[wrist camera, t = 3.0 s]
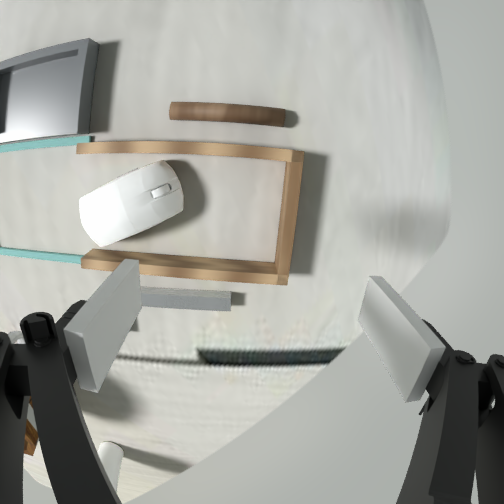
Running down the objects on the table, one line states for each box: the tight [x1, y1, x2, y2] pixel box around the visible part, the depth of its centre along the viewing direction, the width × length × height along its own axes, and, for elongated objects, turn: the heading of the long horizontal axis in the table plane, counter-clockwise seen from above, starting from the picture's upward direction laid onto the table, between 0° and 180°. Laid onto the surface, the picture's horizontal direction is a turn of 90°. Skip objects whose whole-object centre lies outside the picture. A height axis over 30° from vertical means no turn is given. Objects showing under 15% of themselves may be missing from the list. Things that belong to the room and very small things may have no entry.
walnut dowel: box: [169, 102, 285, 127], centre depth 30 cm, size 12×2×2 cm, turn 85°
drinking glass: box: [97, 442, 124, 493], centre depth 43 cm, size 7×7×15 cm
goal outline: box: [0, 136, 91, 264], centre depth 33 cm, size 19×16×1 cm
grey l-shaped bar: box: [140, 287, 231, 311], centre depth 38 cm, size 16×7×2 cm, turn 87°
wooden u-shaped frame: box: [76, 141, 304, 285], centre depth 33 cm, size 24×14×4 cm, turn 85°
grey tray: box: [0, 38, 100, 143], centre depth 27 cm, size 17×11×3 cm, turn 85°
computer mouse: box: [79, 160, 184, 247], centre depth 31 cm, size 6×13×6 cm, turn 109°
